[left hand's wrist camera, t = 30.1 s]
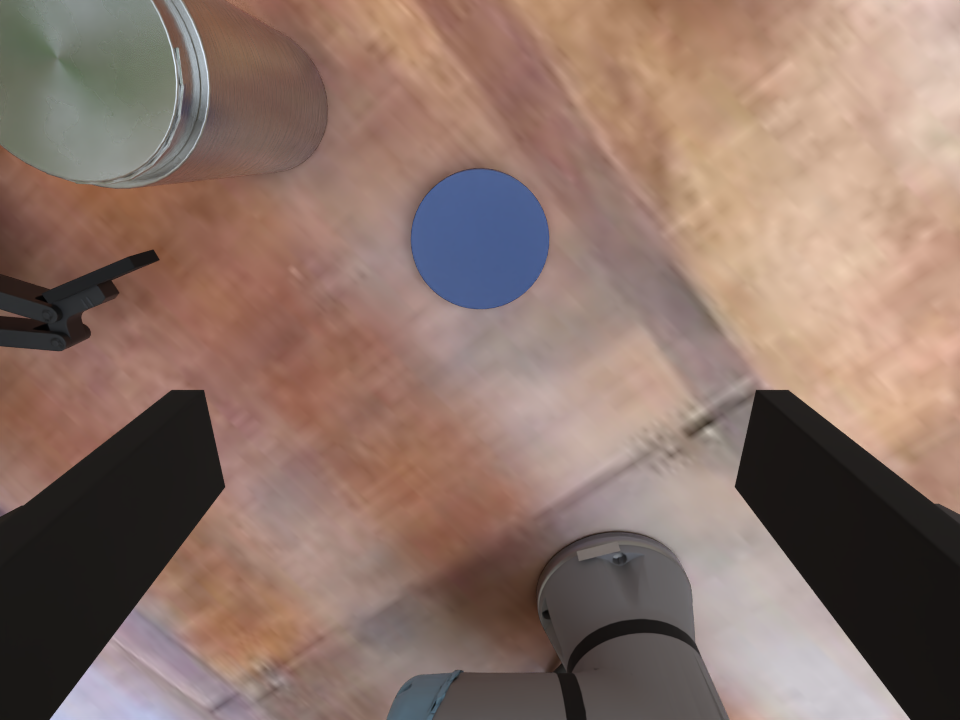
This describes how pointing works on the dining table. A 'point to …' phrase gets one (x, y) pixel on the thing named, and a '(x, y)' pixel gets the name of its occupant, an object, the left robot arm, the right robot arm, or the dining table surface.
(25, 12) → the jar
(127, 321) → the dining table surface
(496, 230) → the lid
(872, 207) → the dining table surface
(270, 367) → the dining table surface
